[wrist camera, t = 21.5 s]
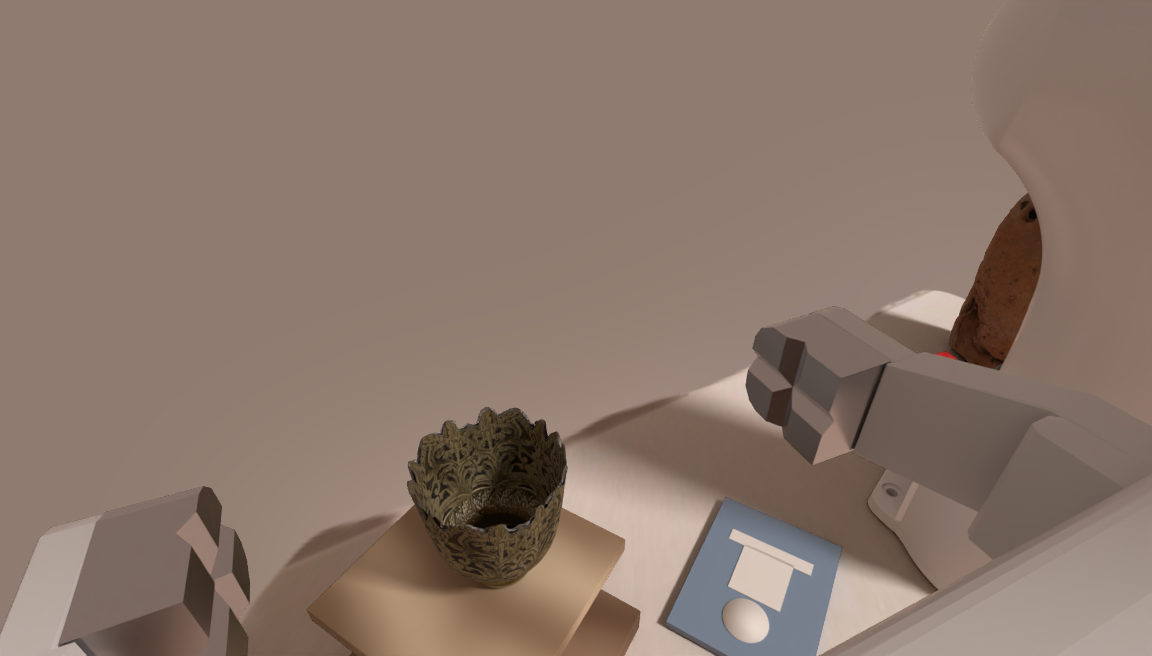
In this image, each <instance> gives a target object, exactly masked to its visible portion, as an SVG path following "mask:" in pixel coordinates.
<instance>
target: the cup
mask: <svg viewBox="0 0 1152 656" xmlns="http://www.w3.org/2000/svg"><path fill="white" fill-rule="evenodd" d="M479 419H480V420H479ZM478 421H479V423H477V424H474V425H472V424H469V423H468V424H466V425H465V426H464V428H461V429H458V428H457V426H456V424H455V421H453V420H450V421H445V422H444V424H443V426H442V429H441V433H432V434H429V435H427V436H425V437H423V438H422V439H421V441H420V445H419V448H418V453H417V455H418V456H417V461H416V462H414V461H415V460H413V461H410V462H408V468H409V471H410V474H411V478H412V480H411V481H408V482H407V486H408V490H409V494H410V495H411V497H412V500H413V502H414V503H415V505H416V508H417V510H418V512H419V515H420V517H421V519H422V521H423V524H424V526H425V528H426V530H427V532H428V535H429V537H430V539H431V541H432V543H433V544H434V546H435V548H436V550H437V551H438V553H439V555H440V556H441V557H442V559H443V560H444V561H445V562H446V563H447V564H448V566H449V567H450V568H452V569H453V570H454V571H456V572H457V573H458V574H460V575H462V576H464V577H466V578H468V579H470V580H474V581H477V582H480V583H481V584H483V585H485V586H488V587H491V588H505V587H509V586H512V585H514V584H516V583H518V582H519V581H520V580H522V579H523V578H524V577H525V576H526V574H527V573H528V572H529V571H530V570H531V569H532V568H534V567H535V566H536V565H537V564H538V563H539V562H540V561H541V560H542V559H543V557H544V556H545V555H546V553H547V552H548V550H549V549H550V547H551V545H552V543H553V540H554V538H555V535H556V533H557V529H558V525H559V521H560V516H561V509H562V502H563V494H564V486H565V479H566V473H567V470H566V469H568V467H567V465H566V462H567V461H566V451H565V446H564V444H562V442H561V439H560V436H559V433H558V432H554V433H551V434H550V435H549V436H548V435H547V430H546V423H545V421H544V420H539V421H536V422H535V424H536V425H535V426H534V424H532V423H531V422H530V421H529V419H528V417H527V416H526V414H524V413H523V412H522V411H521V410H520V409H518V408H512V409H509V410H507V411H504V412H502V413H501V414H498V415H497V413H496V412H495V410H493V409H491V408H489V407H485V408H484V409H482V410H481V412H480V414H479V416H478V420H477V422H478ZM561 445H562V446H561Z"/></svg>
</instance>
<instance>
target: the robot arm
mask: <svg viewBox="0 0 1152 656" xmlns="http://www.w3.org/2000/svg"><path fill="white" fill-rule="evenodd" d="M971 94H972V104H973V109H974V113H975V117H976V119H977V122H978V125H979V127H980V129H981V131H982V133H983V134H984V136H985V138H986V139H987V141H988V142H989V144H990V145H991V146H992V147H993V148H994V149H995V150H996V151H997V152H998V153H999V154H1000V155H1001V156H1002V157H1003V158H1004V159H1005V160H1006V161H1007V163H1008V164H1009V165H1010V166H1011V167H1012V169H1013V170H1014V171H1015V172H1016V174H1017V175H1018V176H1019V178H1020V179H1021V181H1022V183H1023V184H1024V186H1025V188H1026V190H1027V191H1028V194H1029V196H1030V198H1031V200H1032V202H1033V205H1034V208H1035V211H1036V213H1037V217H1038V221H1039V225H1040V231H1041V238H1042V264H1041V271H1040V275H1039V280H1038V283H1037V286H1036V289H1035V292H1034V294H1033V297H1032V300H1031V302H1030V305H1029V308H1028V310H1027V313H1026V315H1025V318H1024V320H1023V322H1022V325H1021V327H1020V330H1019V332H1018V334H1017V336H1016V338H1015V340H1014V343H1013V345H1012V347H1011V349H1010V351H1009V353H1008V355H1007V357H1006V359H1005V361H1004V363H1003V364H1001V365H999V366H997V367H996V368H995V369H991V368H987V367H983V366H979V365H975V364H971V363H967V362H963V361H959V360H955V359H951V358H947V357H943V356H939V355H935V354H931V353H927V352H921V353H918V354H917V353H915V352H914V351H912V350H910V349H909V348H907V347H906V346H904V345H902V344H901V343H899V342H897V341H896V340H894V339H893V338H891V337H889V336H888V335H886V334H885V333H883V332H881V331H880V330H878V329H877V328H875V327H873V326H872V325H870V324H869V323H867V322H865V321H864V320H862V319H860V318H859V317H857V316H856V315H854V314H852V313H851V312H849V311H847V310H846V309H844V308H839V307H835V306H832V307H829V308H826V309H822V310H819V311H816V312H813V313H810V314H808V315H804V316H800V317H798V318H794V319H790V320H787V321H783V322H780V323H777V324H773V325H770V326H766V327H763V328H761V329H760V331H759V332H758V333H757V335H756V336H755V340H754V344H753V350H754V352H755V354H756V355H757V358H756V360H755V361H754V362H753V364H752V365H751V366H750V368H749V369H748V373H747V379H746V389H747V393H748V397H749V401H750V402H751V404H752V406H753V407H754V409H755V410H756V412H757V413H758V414H759V415H760V416H761V417H762V418H763V419H764V420H765V421H767V422H770V423H773V424H775V425H778V426H781V427H782V429H783V436H784V439H785V440H786V441H787V442H788V443H789V444H790V445H791V446H793V447H794V448H795V449H796V450H797V451H798V452H799V453H800V454H801V455H802V456H803V457H804V458H805V459H806V460H807V461H808V462H809V463H810V464H812V465H815V464H818V463H820V462H823V461H826V460H829V459H831V458H834V457H837V456H840V455H842V454H845V453H848V452H851V451H853V450H854V452H853V454H856V455H858V456H860V457H862V458H864V459H866V460H868V461H870V462H873V463H875V464H877V465H879V466H881V467H883V468H885V469H886V470H885V472H884V473H883V475H882V477H881V478H880V480H879V482H878V484H877V485H876V487H875V489H874V490H873V492H872V494H871V495H870V497H869V499H868V505H869V507H870V509H871V510H872V512H873V513H874V514H875V515H876V516H877V517H878V518H879V519H880V520H881V521H882V522H883V523H884V524H885V525H887V526H888V527H889V528H890V529H891V530H892V531H893V532H895V533H896V535H897V536H898V537H899V539H900V540H901V541H902V543H903V545H904V546H905V548H906V550H907V551H908V553H909V555H910V556H911V558H912V559H913V561H914V562H915V564H916V565H917V566H918V568H919V569H920V570H921V572H922V573H923V574H924V575H925V576H926V578H927V579H928V580H929V581H930V582H931V583H932V584H933V585H934V586H935V587H936V588H937V589H938V591H936V592H934V593H932V594H930V595H929V596H927V597H925V598H923V599H921V600H919V601H918V602H916V603H914V604H912V605H910V606H908V607H907V608H905V609H903V610H901V611H899V612H898V613H896V614H894V615H892V616H890V617H888V618H887V619H885V620H883V621H881V622H879V623H877V624H876V625H874V626H872V627H870V628H868V629H866V630H865V631H863V632H861V633H859V634H857V635H856V636H854V637H852V638H850V639H848V640H846V641H845V642H843V643H841V644H839V645H837V646H835V647H834V648H832V649H830V650H828V651H826V652H824V653H823V654H821V655H819V656H1152V0H1005V1H1004V2H1003V3H1002V4H1001V6H1000V7H999V9H998V10H997V12H996V14H995V15H994V16H993V18H992V20H991V21H990V23H989V25H988V27H987V29H986V31H985V33H984V35H983V37H982V40H981V42H980V45H979V48H978V51H977V54H976V57H975V60H974V66H973V71H972V81H971ZM888 494H889V495H888ZM890 495H891V496H890ZM221 511H222V506H221V504H220V502H219V500H218V499H217V497H216V495H215V494H214V492H213V490H212V489H211V488H209V487H205V486H203V487H199V488H195V489H191V490H188V491H184V492H180V493H176V494H172V495H168V496H165V497H161V498H157V499H153V500H150V501H146V502H142V503H138V504H134V505H130V506H127V507H123V508H120V509H115V510H111V511H108V512H105V513H104V514H100V515H96V516H92V517H88V518H85V519H81V520H77V521H73V522H70V523H65V524H61V525H58V526H54V527H51V528H50V529H49V530H48V531H47V532H46V533H44V534H43V535H42V536H41V537H40V538H39V540H38V542H37V544H36V547H35V549H34V552H33V554H32V556H31V559H30V561H29V564H28V566H27V569H26V571H25V574H24V576H23V579H22V581H21V583H20V586H19V588H18V591H17V593H16V596H15V598H14V601H13V603H12V606H11V608H10V610H9V613H8V615H7V618H6V620H5V623H4V625H3V628H2V630H1V633H0V656H247V652H248V636H247V634H246V633H245V631H244V629H243V628H242V626H241V624H240V623H239V621H238V619H239V618H240V616H241V615H242V613H243V612H244V610H245V609H246V607H247V606H248V604H249V602H250V579H249V573H248V565H247V559H246V556H245V552H244V550H243V547H242V543H241V541H240V539H239V537H238V535H237V533H236V531H235V530H234V529H231V528H229V527H226V526H223V525H221V524H220V522H221Z"/></svg>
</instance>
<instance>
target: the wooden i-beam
mask: <svg viewBox="0 0 1152 656" xmlns="http://www.w3.org/2000/svg"><path fill="white" fill-rule="evenodd" d="M624 549H625V539H623V538H621V537H619V536H617V535H615V534H613V533H611V532H609V531H607V530H605V529H603V528H601V527H599V526H597V525H595V524H593V523H591V522H589V521H587V520H585V519H583V518H581V517H579V516H577V515H575V514H573V513H571V512H569V511H567V510H565V509H563V508H562V509H561V516H560V521H559V525H558V529H557V533H556V535H555V538H554V540H553V543H552V545H551V547H550V549H549V550H548V552H547V553H546V555H545V556H544V557H543V559H542V560H541V561H540V562H539V563H538V564H537V565H536V566H535V567H534V568H532V569H531V570H530V571H529V572H528V573H527V574H526V576H525V577H524V578H523V579H522V580H520V581H519V582H518V583H516V584H514V585H512V586H509V587H505V588H491V587H488V586H485V585H483V584H481V583H480V582H477V581H474V580H470V579H468V578H466V577H464V576H462V575H460V574H458V573H457V572H456V571H454V570H453V569H452V568H450V567H449V566H448V564H447V563H446V562H445V561H444V560H443V559H442V557H441V556H440V555H439V553H438V551H437V550H436V548H435V546H434V544H433V543H432V541H431V539H430V537H429V535H428V532H427V530H426V528H425V526H424V524H423V521H422V519H421V517H420V515H419V512H418V510H417V508H416V505H414V506H413V507H412V508H411V509H410V510H409V511H408V512H406V513H405V514H404V515H403V516H402V517H401V518H400V519H399V520H398V521H397V522H396V523H395V524H394V525H393V526H392V527H391V528H390V529H389V530H388V531H387V532H386V533H385V534H384V535H383V536H382V537H381V538H380V539H379V540H378V541H377V542H376V543H375V544H374V545H373V546H372V547H371V548H370V549H368V550H367V551H366V552H365V553H364V554H363V555H362V556H361V557H360V558H359V559H358V560H357V561H356V562H355V563H354V564H353V565H352V566H351V567H350V568H349V569H348V570H347V571H346V572H345V573H344V574H343V575H342V576H341V577H340V578H339V579H338V580H337V581H336V582H335V583H334V584H333V585H331V586H330V587H329V588H328V589H327V590H326V591H325V592H324V593H323V594H322V595H321V596H320V597H319V598H318V599H317V600H316V601H315V602H314V603H313V604H312V605H311V606H310V607H309V608H308V609H307V611H308V613H309V615H310V617H311V619H312V621H314V622H315V623H316V624H317V625H319V626H320V627H321V628H323V629H324V630H325V631H326V632H328V633H329V634H330V635H332V636H333V637H334V638H335V639H337V640H338V641H339V642H341V643H342V644H343V645H344V646H346V647H347V648H348V649H350V650H351V651H352V652H353V653H352V654H351V655H350V656H624V655H625V653H626V651H627V649H628V647H629V645H630V644H631V642H632V640H633V638H634V636H635V634H636V632H637V630H638V628H639V620H640V611H639V610H637V609H636V608H634V607H632V606H630V605H628V604H627V603H625V602H623V601H621V600H619V599H618V598H616V597H614V596H612V595H610V594H609V593H607V592H605V591H603V590H601V588H602V586H603V585H604V583H605V582H606V580H607V578H608V577H609V575H610V573H611V572H612V570H613V568H614V567H615V565H616V563H617V562H618V560H619V558H620V557H621V555H622V553H623V552H624Z"/></svg>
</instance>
